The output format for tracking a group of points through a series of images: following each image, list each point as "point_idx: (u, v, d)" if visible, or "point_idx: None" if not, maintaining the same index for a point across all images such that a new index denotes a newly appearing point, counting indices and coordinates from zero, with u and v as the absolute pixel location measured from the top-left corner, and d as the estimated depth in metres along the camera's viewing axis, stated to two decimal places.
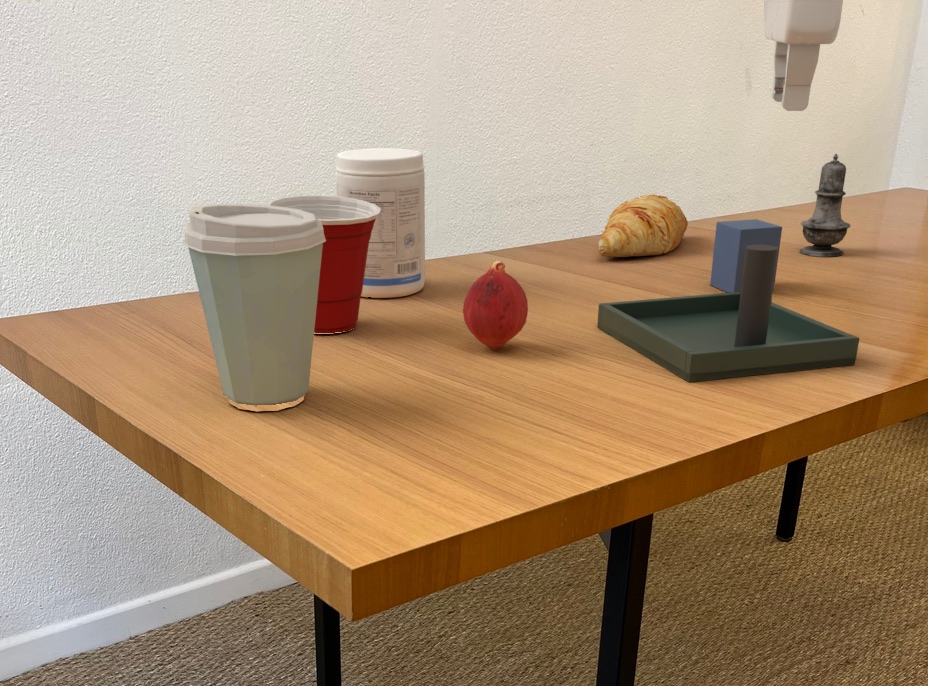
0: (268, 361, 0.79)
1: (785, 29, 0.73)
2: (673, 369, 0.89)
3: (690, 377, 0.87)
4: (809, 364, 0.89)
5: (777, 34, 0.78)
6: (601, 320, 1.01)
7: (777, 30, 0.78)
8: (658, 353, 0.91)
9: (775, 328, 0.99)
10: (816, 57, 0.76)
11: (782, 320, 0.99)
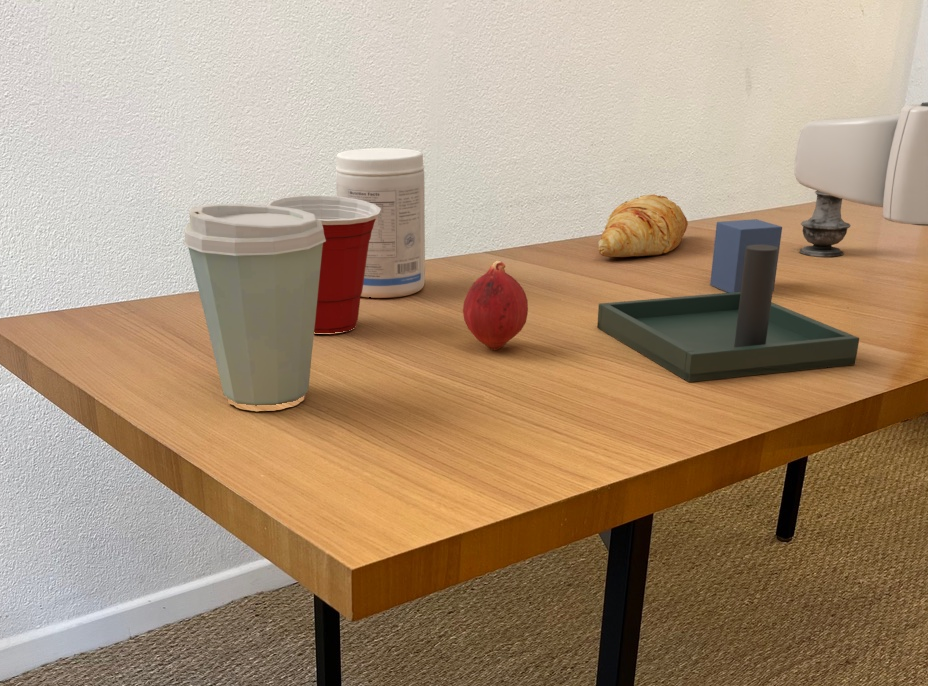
0: (268, 361, 0.79)
1: None
2: (673, 369, 0.89)
3: (690, 377, 0.87)
4: (809, 364, 0.89)
5: None
6: (601, 320, 1.01)
7: None
8: (658, 353, 0.91)
9: (775, 328, 0.99)
10: None
11: (782, 320, 0.99)
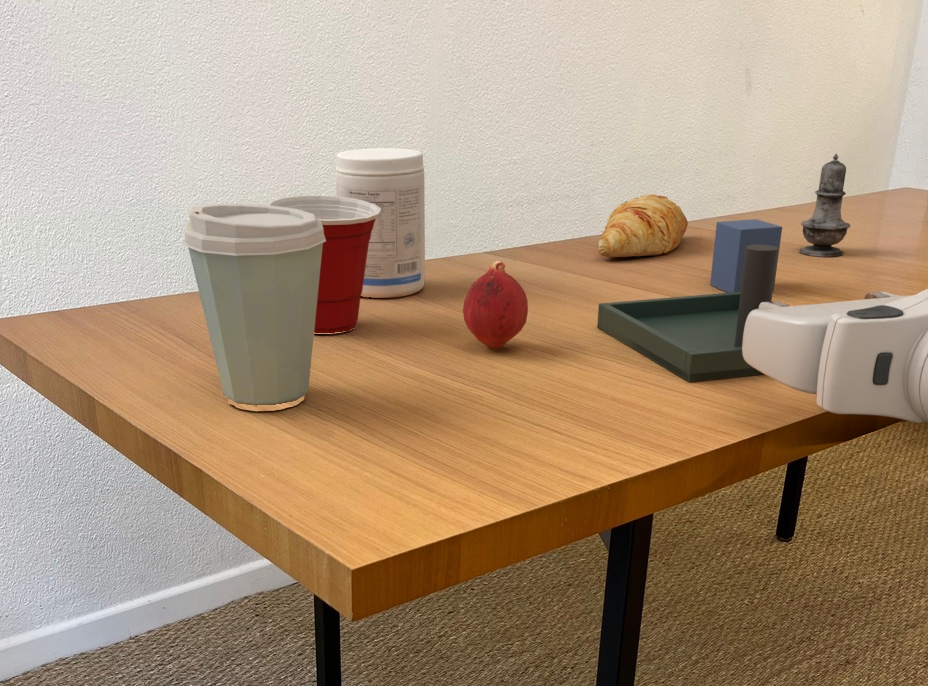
0: (268, 361, 0.79)
1: None
2: (673, 369, 0.89)
3: (690, 377, 0.87)
4: None
5: None
6: (601, 320, 1.01)
7: None
8: (658, 353, 0.91)
9: None
10: None
11: None
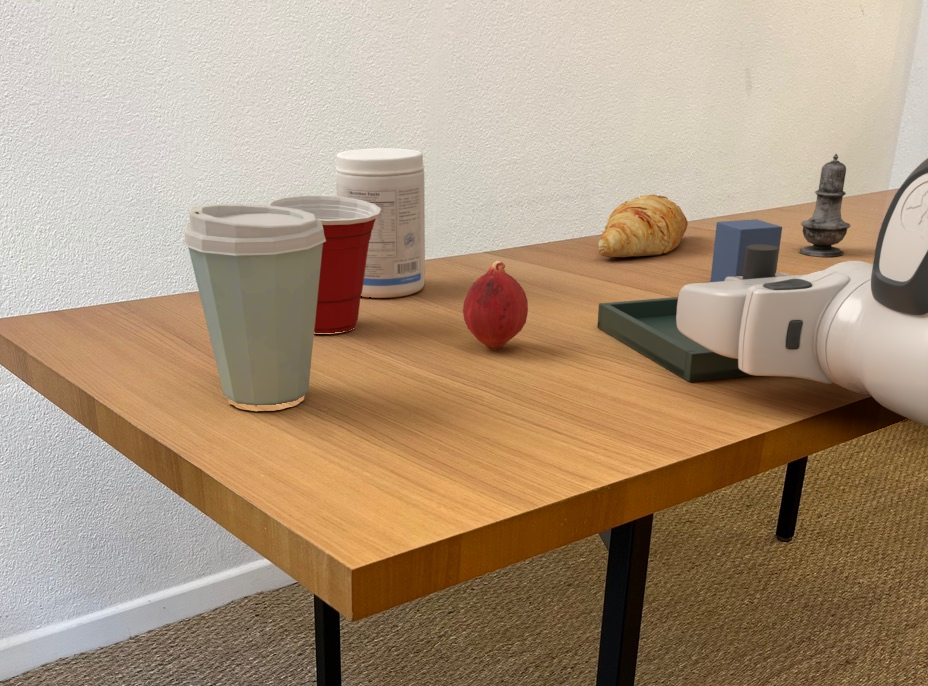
0: (268, 361, 0.79)
1: None
2: (674, 368, 0.89)
3: (690, 377, 0.87)
4: None
5: None
6: (601, 320, 1.01)
7: None
8: (659, 353, 0.91)
9: None
10: None
11: None
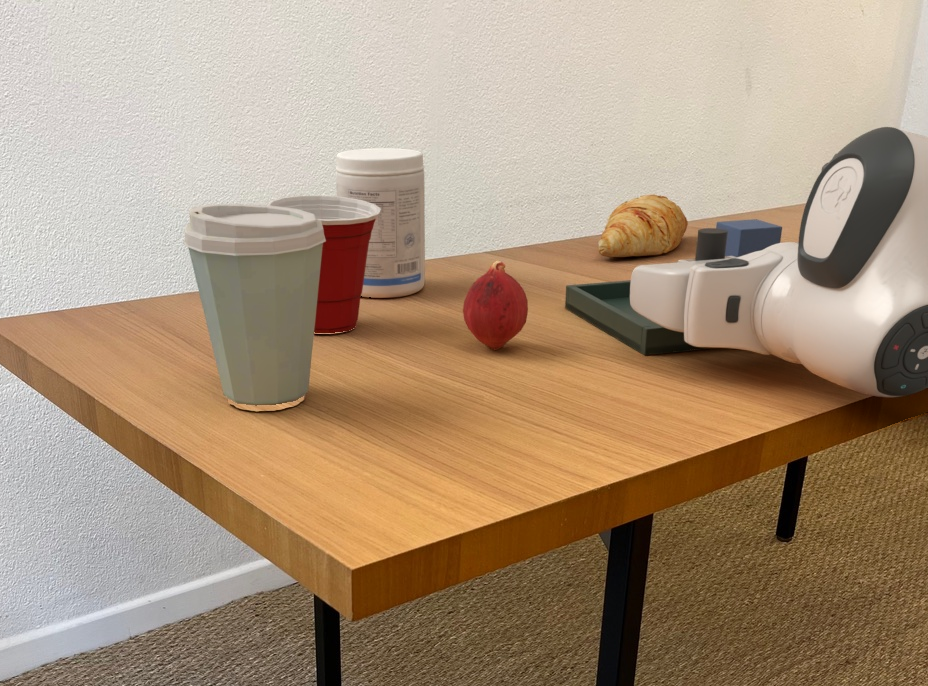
0: (268, 361, 0.79)
1: None
2: (631, 343, 0.96)
3: (646, 350, 0.94)
4: None
5: None
6: (568, 300, 1.08)
7: None
8: (618, 329, 0.98)
9: None
10: None
11: None
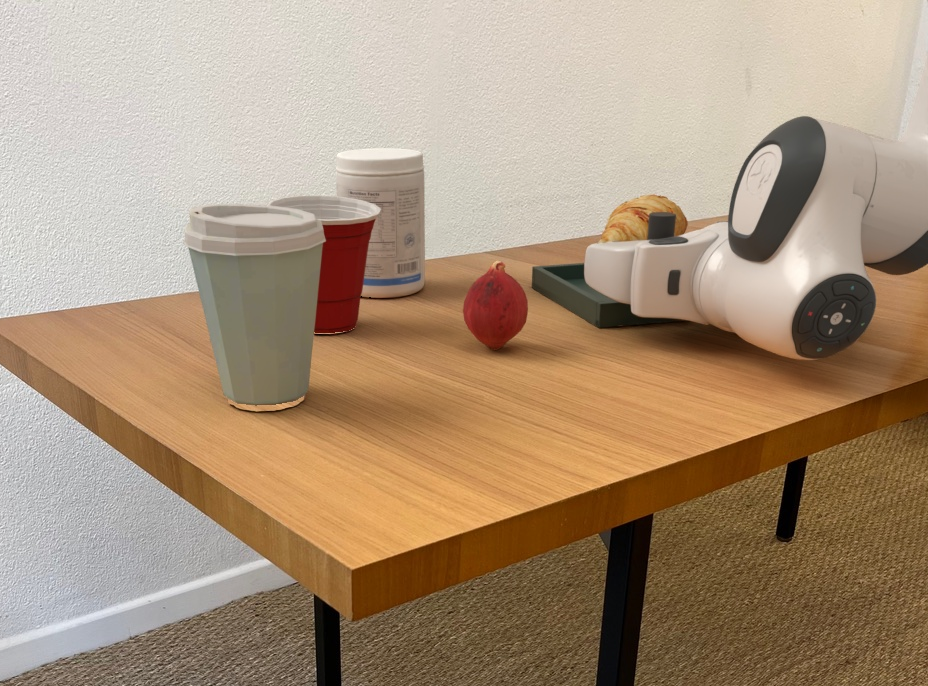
0: (268, 361, 0.79)
1: None
2: (588, 317, 1.04)
3: (600, 323, 1.02)
4: None
5: None
6: (534, 280, 1.17)
7: None
8: (577, 305, 1.06)
9: None
10: None
11: None
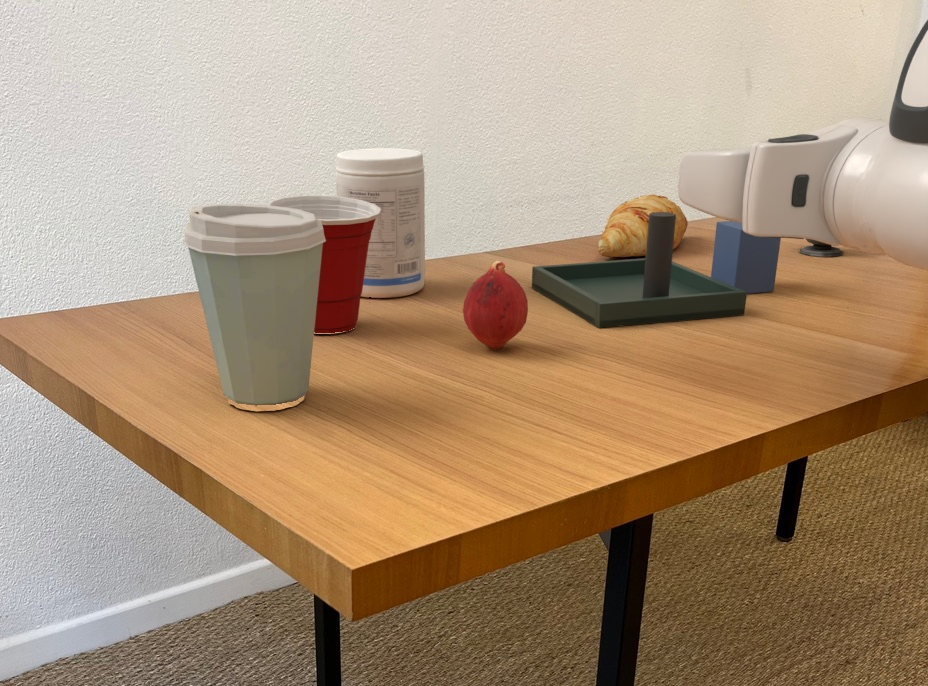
0: (268, 362, 0.79)
1: None
2: (588, 317, 1.04)
3: (600, 323, 1.02)
4: (704, 314, 1.05)
5: None
6: (534, 280, 1.17)
7: None
8: (577, 305, 1.06)
9: (683, 286, 1.14)
10: None
11: (689, 280, 1.14)
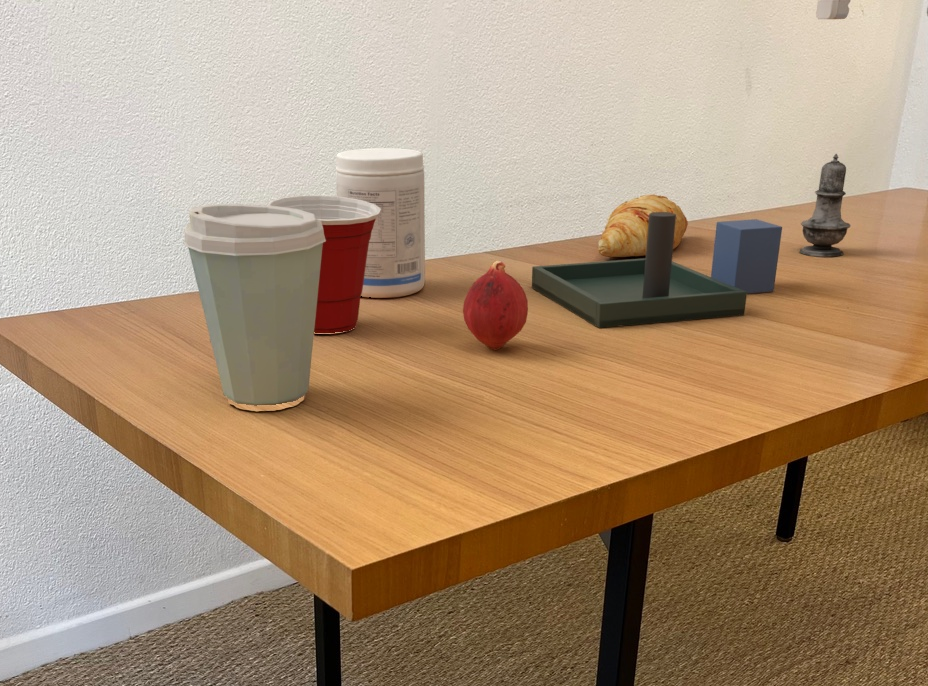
0: (268, 362, 0.79)
1: None
2: (588, 317, 1.04)
3: (600, 323, 1.02)
4: (704, 314, 1.05)
5: None
6: (534, 280, 1.17)
7: None
8: (577, 305, 1.06)
9: (683, 286, 1.14)
10: None
11: (689, 280, 1.14)
